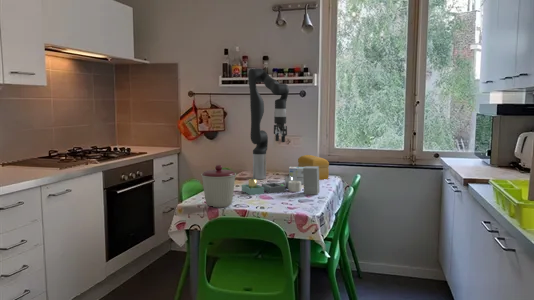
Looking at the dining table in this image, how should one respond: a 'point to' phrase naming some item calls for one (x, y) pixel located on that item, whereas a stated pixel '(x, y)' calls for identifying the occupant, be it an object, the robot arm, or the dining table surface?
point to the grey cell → (287, 181)
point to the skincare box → (311, 180)
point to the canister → (218, 186)
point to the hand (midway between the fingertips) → (280, 141)
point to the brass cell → (252, 183)
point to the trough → (253, 190)
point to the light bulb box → (296, 174)
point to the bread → (315, 165)
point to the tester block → (273, 187)
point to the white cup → (294, 186)
